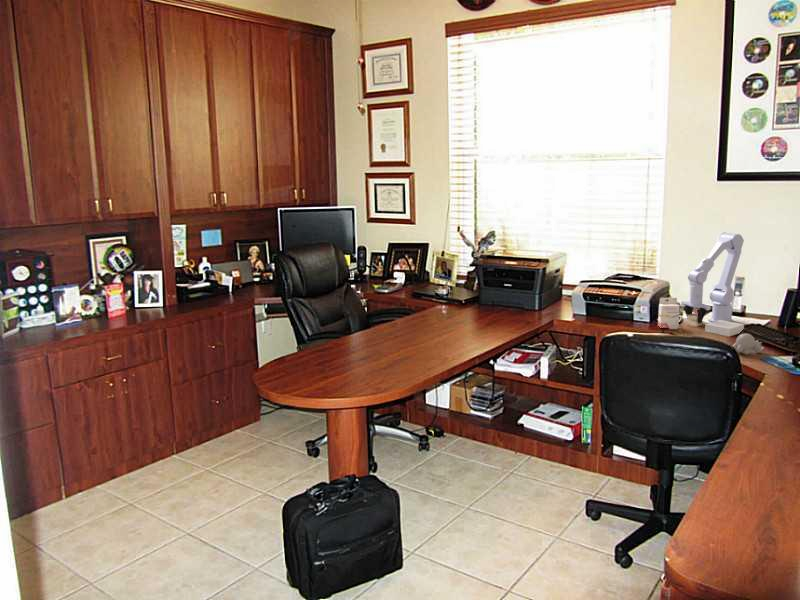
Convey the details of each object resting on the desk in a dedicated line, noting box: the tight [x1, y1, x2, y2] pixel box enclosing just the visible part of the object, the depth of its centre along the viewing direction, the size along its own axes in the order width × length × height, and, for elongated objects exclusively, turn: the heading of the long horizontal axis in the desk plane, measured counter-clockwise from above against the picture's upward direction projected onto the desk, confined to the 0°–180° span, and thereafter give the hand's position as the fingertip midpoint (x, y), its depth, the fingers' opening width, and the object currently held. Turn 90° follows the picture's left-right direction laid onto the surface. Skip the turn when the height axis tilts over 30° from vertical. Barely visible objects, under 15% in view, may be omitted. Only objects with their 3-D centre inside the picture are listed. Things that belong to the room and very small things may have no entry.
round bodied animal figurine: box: [732, 332, 764, 356], centre depth 281 cm, size 7×12×8 cm, turn 90°
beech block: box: [686, 312, 703, 328], centre depth 328 cm, size 5×5×5 cm
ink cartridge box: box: [657, 297, 681, 330], centre depth 324 cm, size 9×5×15 cm, turn 84°
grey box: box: [704, 320, 745, 337], centre depth 315 cm, size 12×12×4 cm
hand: (694, 322), depth 329 cm, fingers closed on beech block, 5 cm apart
